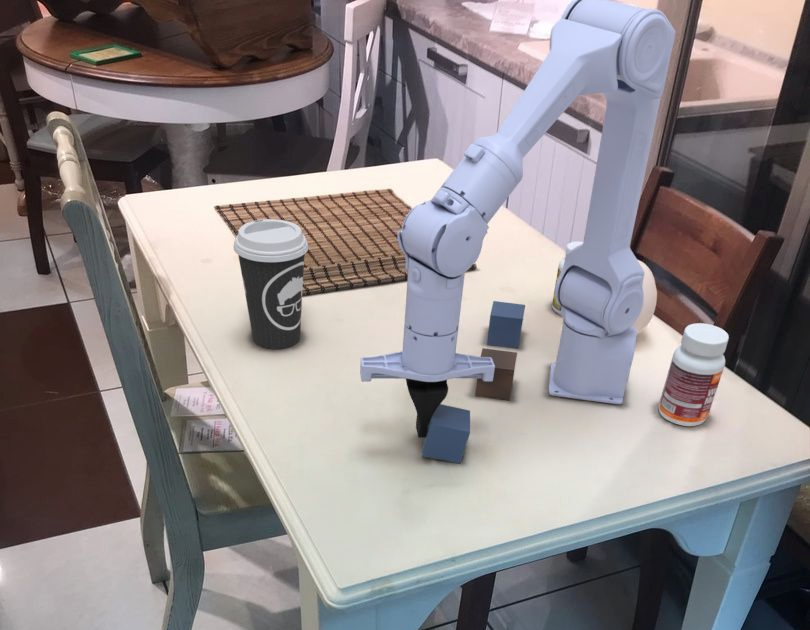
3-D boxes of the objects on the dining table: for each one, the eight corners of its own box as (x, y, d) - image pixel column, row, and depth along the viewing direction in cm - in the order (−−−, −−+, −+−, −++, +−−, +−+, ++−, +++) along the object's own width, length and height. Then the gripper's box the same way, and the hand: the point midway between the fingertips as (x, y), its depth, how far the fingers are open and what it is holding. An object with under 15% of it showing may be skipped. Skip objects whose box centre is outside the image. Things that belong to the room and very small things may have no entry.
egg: (651, 353, 118) (672, 275, 110) (590, 349, 118) (607, 271, 110) (640, 324, 124) (659, 249, 117) (582, 321, 124) (598, 245, 116)
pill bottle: (707, 431, 103) (735, 349, 96) (657, 423, 104) (681, 341, 97) (705, 405, 108) (732, 325, 100) (657, 397, 109) (680, 317, 101)
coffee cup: (308, 320, 120) (304, 216, 110) (314, 353, 113) (311, 244, 103) (240, 323, 119) (231, 217, 109) (242, 356, 112) (232, 246, 102)
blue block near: (460, 441, 99) (470, 410, 96) (460, 463, 96) (470, 432, 93) (423, 433, 99) (432, 402, 96) (421, 455, 95) (430, 423, 93)
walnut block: (512, 382, 110) (517, 352, 107) (509, 400, 106) (514, 369, 103) (478, 378, 110) (482, 347, 107) (474, 396, 107) (478, 365, 104)
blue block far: (520, 333, 120) (525, 304, 117) (518, 348, 117) (523, 318, 114) (489, 329, 121) (493, 300, 118) (486, 344, 117) (490, 314, 114)
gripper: (491, 307, 91) (476, 413, 100) (359, 306, 89) (356, 414, 98) (505, 338, 86) (487, 447, 95) (365, 337, 84) (360, 448, 93)
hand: (421, 432), depth 96 cm, fingers closed, pressing on blue block near
